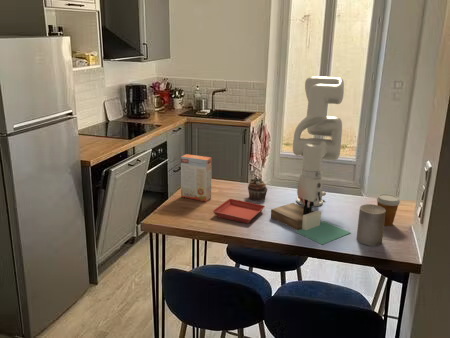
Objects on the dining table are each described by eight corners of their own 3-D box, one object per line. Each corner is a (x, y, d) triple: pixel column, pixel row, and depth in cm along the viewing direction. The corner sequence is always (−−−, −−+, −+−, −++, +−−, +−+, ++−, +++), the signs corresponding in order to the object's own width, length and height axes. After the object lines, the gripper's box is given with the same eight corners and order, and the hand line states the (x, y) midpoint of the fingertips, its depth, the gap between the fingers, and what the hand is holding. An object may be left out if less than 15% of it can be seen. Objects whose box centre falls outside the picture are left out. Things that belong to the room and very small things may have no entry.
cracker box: (211, 198, 212) (212, 157, 206) (205, 202, 207) (206, 160, 201) (186, 193, 218) (186, 153, 212) (180, 197, 212) (180, 156, 206)
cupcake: (262, 202, 208) (264, 182, 205) (244, 199, 212) (245, 179, 209) (269, 196, 217) (270, 177, 214) (251, 193, 221) (252, 174, 218)
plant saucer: (265, 212, 198) (265, 205, 197) (249, 226, 182) (250, 219, 181) (229, 204, 205) (229, 198, 204) (211, 218, 190) (211, 211, 189)
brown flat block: (292, 210, 199) (293, 202, 198) (319, 222, 187) (320, 213, 186) (270, 217, 191) (271, 209, 190) (297, 230, 179) (298, 221, 178)
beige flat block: (317, 210, 183) (321, 212, 182) (316, 223, 185) (319, 225, 184) (303, 215, 178) (306, 216, 177) (301, 228, 180) (305, 230, 178)
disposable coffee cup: (385, 229, 182) (389, 202, 179) (368, 220, 190) (372, 195, 187) (401, 225, 186) (405, 199, 183) (384, 217, 194) (388, 192, 191)
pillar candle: (374, 234, 177) (378, 200, 172) (386, 245, 167) (391, 209, 163) (351, 236, 175) (355, 201, 171) (363, 247, 166) (367, 210, 162)
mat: (323, 221, 188) (323, 221, 188) (350, 233, 178) (350, 232, 178) (295, 231, 177) (295, 231, 177) (322, 244, 167) (322, 244, 167)
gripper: (331, 176, 174) (326, 218, 179) (303, 167, 185) (300, 207, 191) (318, 179, 170) (314, 222, 175) (291, 170, 181) (288, 211, 186)
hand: (307, 214), depth 183 cm, fingers closed
